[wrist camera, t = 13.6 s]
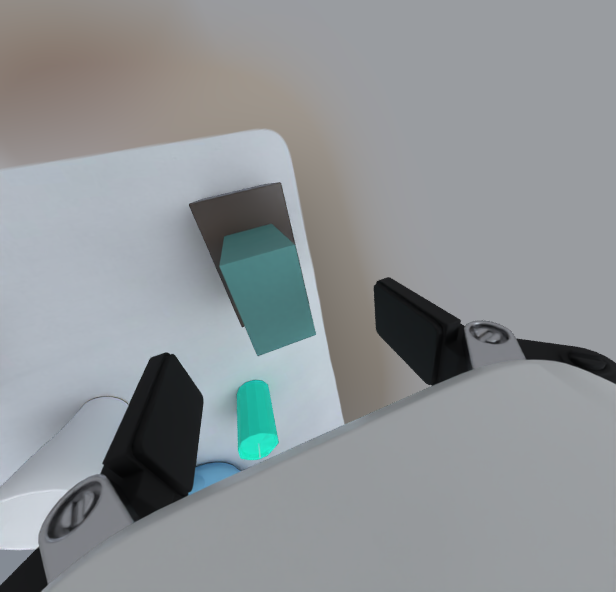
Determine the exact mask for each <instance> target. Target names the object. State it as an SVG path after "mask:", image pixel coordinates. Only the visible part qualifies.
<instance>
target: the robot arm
mask: <svg viewBox="0 0 616 592" xmlns="http://www.w3.org/2000/svg"><path fill="white" fill-rule="evenodd" d="M374 301H375V319H376V330H377V333H378V334H379V335H380V336H381V338H382V339H383V340H384V341H385V342H386V343H387V344H388V345H389V346H390V347H391V348H392V349H393V350H394V351H395V352H396V353H397V354H398V355H399V356H400V357H401V358H402V359H403V360H404V361H405V362H406V363H407V364H408V365H409V366H410V367H411V368H412V369H413V370H414V372H415V373H416V374H417V375H418V376H419V377H420V378H421V379H422V380H423V381H424V382H425V383H426V384H428V385H432V386H431V387H429V388H426V389H424V390H422V391H419V392H417V393H415V394H413V395H410V396H408V397H406V398H404V399H401V400H399V401H397V402H394V403H392V404H390V405H388V406H385V407H383V408H381V409H379V410H376V411H374V412H372V413H369V414H367V415H365V416H363V417H360V418H358V419H356V420H354V421H351V422H350V423H347V424H345V425H343V426H340V427H338V428H336V429H334V430H331V431H329V432H327V433H325V434H322V435H320V436H318V437H316V438H314V439H311V440H309V441H307V442H305V443H302V444H300V445H298V446H296V447H293V448H291V449H289V450H287V451H285V452H282V453H280V454H278V455H276V456H274V457H271V458H269V459H267V460H265V461H263V462H260V463H258V464H256V465H254V466H252V467H249V468H247V469H245V470H243V471H241V472H238V473H236V474H234V475H232V476H229V477H227V478H225V479H223V480H221V481H218V482H216V483H214V484H212V485H210V486H208V487H206V488H203V489H201V490H199V491H197V492H195V493H193V494H191V495H189V496H188V493H189V492H191V491H192V488H193V484H194V476H195V467H196V459H197V451H198V443H199V435H200V427H201V418H202V410H203V396H202V394H201V392H200V391H199V389H198V388H197V386H196V385H195V384H194V382H193V381H192V379H191V378H190V376H189V375H188V373H187V372H186V370H185V369H184V368H183V366H182V365H181V363H180V362H179V360H178V359H177V357H176V356H175V355H174V354H171V355H170V354H169V353H163V354H160V355H157V356H154V357H152V358H150V360H149V362H148V364H147V366H146V368H145V370H144V373H143V375H142V377H141V379H140V381H139V384H138V386H137V388H136V390H135V392H134V395H133V397H132V399H131V401H130V403H129V405H128V408H127V410H126V412H125V414H124V416H123V419H122V421H121V423H120V425H119V427H118V430H117V432H116V434H115V436H114V438H113V441H112V443H111V445H110V447H109V449H108V452H107V454H106V456H105V458H104V460H103V463H102V464H103V465H104V466H103V468H102V470H101V473H100V474H96V475H93V476H90V477H87V478H86V479H84V480H82V481H80V482H79V483H78V484H76V485H75V486H74V487H72V488H71V489H70V490H69V491H68V492H67V493H66V494H65V495H64V496H63V497H62V498H61V499H60V500H59V501H58V502H57V503H56V504H55V506H54V507H53V508H52V509H51V511H50V512H49V514H48V515H47V517H46V518H45V520H44V522H43V524H42V526H41V529H40V531H39V534H38V544H39V547H38V548H37V549H36V550H35V551H34V552H33V553H32V554H31V555H30V556H29V557H28V558H27V559H26V560H25V561H24V562H23V563H22V564H21V565H20V566H19V567H18V568H17V569H16V570H15V571H14V572H13V573H12V575H10V576H9V577H8V578H7V579H6V580H5V581H4V582H3V583H2V584H1V585H0V592H616V363H615V362H613V361H612V360H610V359H609V358H607V357H606V356H604V355H601V354H599V353H597V352H594V351H591V350H588V349H585V348H580V347H574V346H567V345H559V344H552V343H545V342H538V341H531V340H522V339H516V338H515V336H514V334H513V333H512V332H511V331H510V330H509V329H508V328H506V327H504V326H502V325H500V324H497V323H494V322H490V321H473V322H470V323H468V324H466V326H464V325H462V324H460V322H461V320H460V319H458V318H456V317H455V316H453V315H451V314H450V313H448V312H446V311H445V310H443V309H441V308H440V307H438V306H436V305H435V304H433V303H431V302H430V301H428V300H426V299H425V298H423V297H421V296H420V295H418V294H416V293H415V292H413V291H411V290H410V289H408V288H406V287H405V286H403V285H401V284H400V283H398V282H396V281H395V280H393V279H391V278H389V277H388V278H384V279H382V280H379V281H377V283H376V285H374Z"/></svg>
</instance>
